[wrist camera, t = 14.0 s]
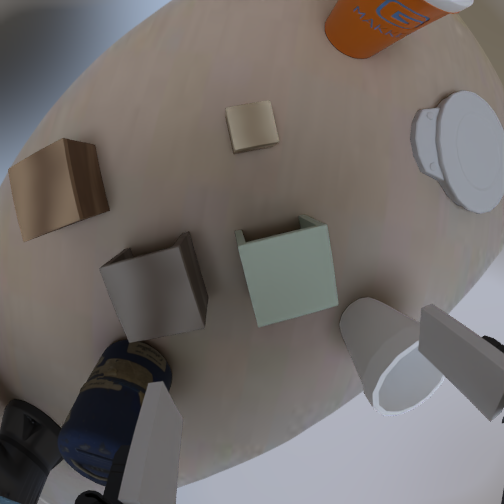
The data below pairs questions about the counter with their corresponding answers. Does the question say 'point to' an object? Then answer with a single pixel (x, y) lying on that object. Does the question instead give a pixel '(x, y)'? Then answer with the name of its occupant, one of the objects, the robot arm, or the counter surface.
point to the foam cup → (388, 356)
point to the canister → (110, 407)
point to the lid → (462, 150)
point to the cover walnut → (57, 187)
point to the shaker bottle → (382, 22)
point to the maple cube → (251, 126)
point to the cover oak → (157, 291)
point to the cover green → (289, 272)
